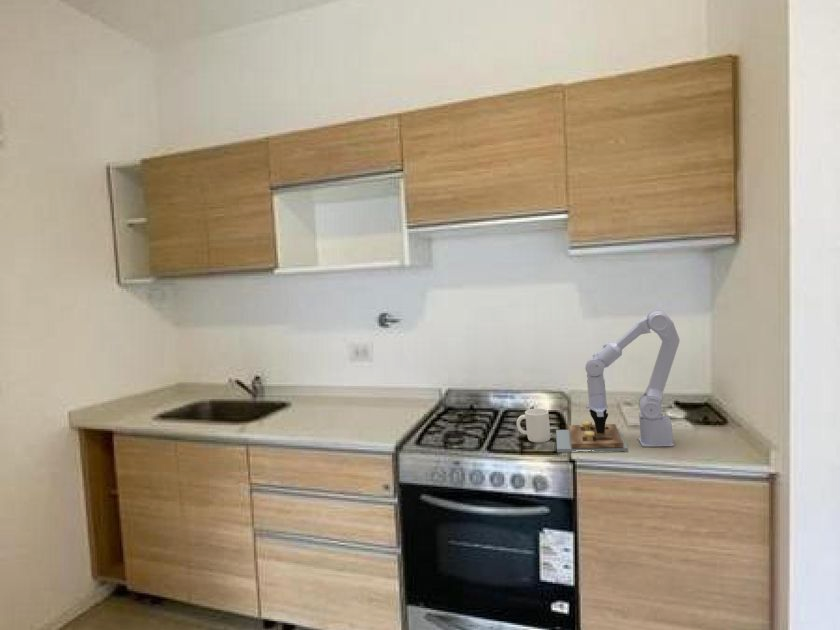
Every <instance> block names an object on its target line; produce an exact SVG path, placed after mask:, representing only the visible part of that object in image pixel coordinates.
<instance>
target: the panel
mask: <svg viewBox="0 0 840 630" xmlns="http://www.w3.org/2000/svg"><path fill="white" fill-rule="evenodd" d="M568 429H569V430H570V437H571V445H572V448H612V447H624V446H623V441H622V439H621V437H620V434H619V432H618V430H617V429H618V427H617V425H616V424H615V423H613V424H612V423H609V424H607V423H605V430H604V433H597V430H596V426H595V424H592V426H590V430H593V431H594V433H595V436H593V441H587V436H585V434H584V432H585V426H583V425H582V424H572V425H571V424H570V425H569V427H568Z"/></svg>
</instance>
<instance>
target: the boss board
mask: <svg viewBox="0 0 840 630" xmlns="http://www.w3.org/2000/svg"><path fill="white" fill-rule="evenodd" d="M592 423H593V422H592V421H589V420H584V421H582V424H581V425H583V426H585V432H584V434H585V436H587V441H593V436H595V433H594V431H593V430H590V426H592V425H593V424H592ZM617 430H618V432H619V434H620V437H621V439H622V441H623V446H624V447H612V448H572V445H571V437H570V429H555V433H556V434H555V435H556V453H573V452H572V451H576V450H591V451H592V450H594V451H628V450H629V448H628V446H627V444H626V442H625V439H624V437H623V434H622V432H621V430H620V428H617ZM628 452H629V451H628Z"/></svg>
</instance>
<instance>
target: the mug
mask: <svg viewBox="0 0 840 630" xmlns="http://www.w3.org/2000/svg"><path fill="white" fill-rule="evenodd" d="M523 420H525V426H526V427H525V428H526V430H524V429H523V428H522V427H521V421H523ZM550 425H551V424H550V414H549V410H548V409H545V408H531V409H527V410H525V411H524V414H522V415H520V416H518V418H517V420H516V428H517V429H518V432H520V433H521V434H523V435H527V439H528V441H530V443H538V444H539V443H546V442H548V441H550V440H551V427H550Z"/></svg>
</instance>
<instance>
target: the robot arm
mask: <svg viewBox="0 0 840 630" xmlns="http://www.w3.org/2000/svg"><path fill="white" fill-rule="evenodd" d="M651 330H652V331H653V332H654V333H655V334H657V336H658V337H659V338H660V340H661V345H660V346H659V350H658V353H657V357H656V360H655V363H654V365H653V369H652V373H651V377H650V378H649V382H648V384H647V385H648V386H647V387H646V389H645V391H644V394H643V395H641V396H640V397H639V401H638V404H639V408H640V413H639V415H638V418H639V429H640V437H637V439H638V441H639V443H640V445H641V446H642V447H644V448H645V447H653V448H654V447H674V445H675V444H674V435H673V424H672V420H671V418H670V416H667V415H664V414H663V409H662V401H663V395H664V392H665V391H664V390H665V388H666V385H667V381H668V378H669V376H670V375H669V374H670V372H671V369H672V365H673V363H674V360H675V357H676V353H677V350H678V347H679V344H680V337H679V334H678V332H677V329H676V326H675V323H674V321H673V320H672V319H671V318H670V316H668V314H667V313H665V312H664V311H662V310H659V309H657V310H656V309H655V310H653V311H650V312H649V313H648V314H647V316H646V315H645V316H643V317H642V318H641V319H639V320H638V321H637V322H635V324H634V325H632V326H631V327H630V328H629V329H628V330H627V331H626V332H624V334H622V335H621V337H619V339H617V341H615V342H608V343H604V344H603V345H602V348H601V349H600V350H599V351H598V352H597V353H593V354H592V357H590V358H588V360H587V361H586V364H585V371H586V379H587V380H586V383H587V384H586V385H587V395H588V397H587V398H588V404H586V405H585V409H589V414H590V416H591V418H592V420H593V423H594V425H595V426H596V430H597V433H604V430H605V424H606V422H607V419H608V417H609V413H608V412H607V409H608V407H609V406H608V404H607V393H606V380H605V377H604V372H605V371H604V370H605V369H606V368H609V366H611V365H612V364H613V363H614V362H616V361H617V360H618V359H619V358H620V357H621V356H623V349H624V348H626V347H627V346H628V345H630V344H631V343H632V342H634V341H635V340H636V339H637V338H638V337H639V336H641V335H647V334H651V333H652V332H651Z"/></svg>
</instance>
